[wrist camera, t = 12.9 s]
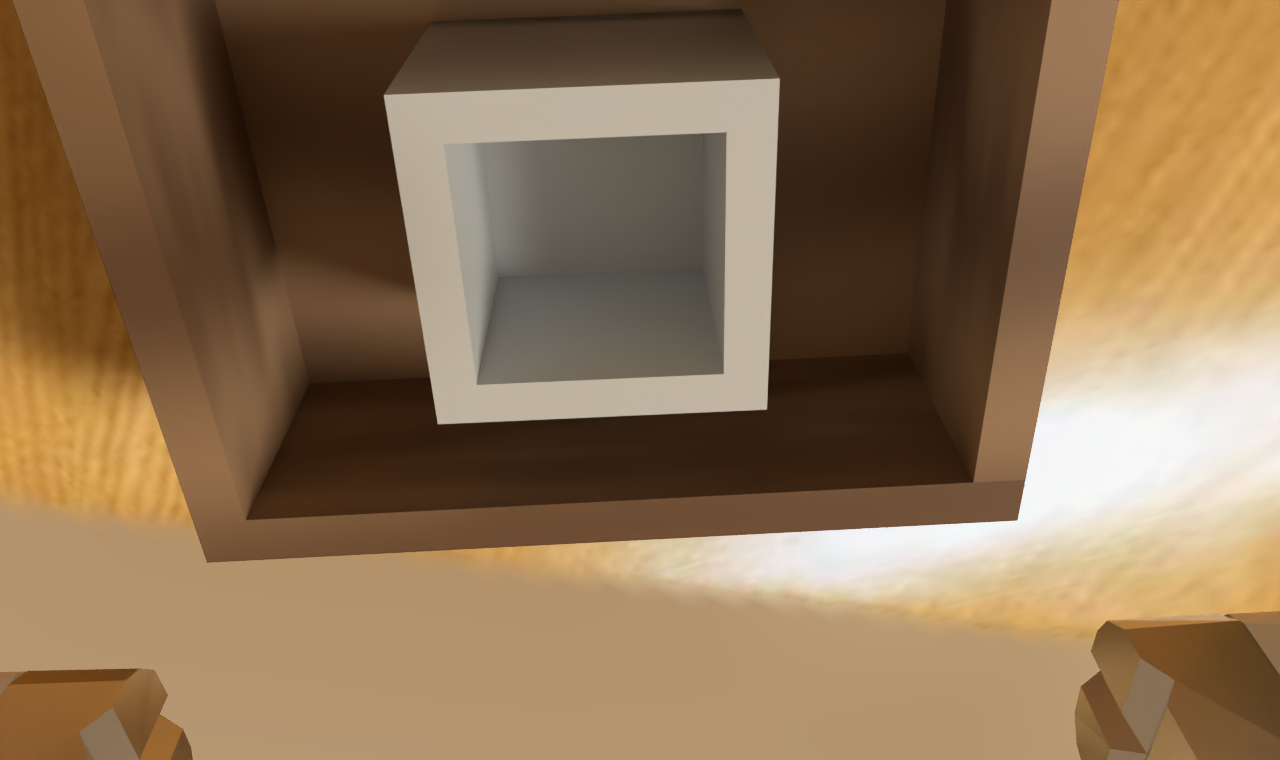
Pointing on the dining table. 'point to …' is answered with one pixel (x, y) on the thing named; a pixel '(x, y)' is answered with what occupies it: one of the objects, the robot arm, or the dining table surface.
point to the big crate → (597, 446)
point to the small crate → (590, 213)
